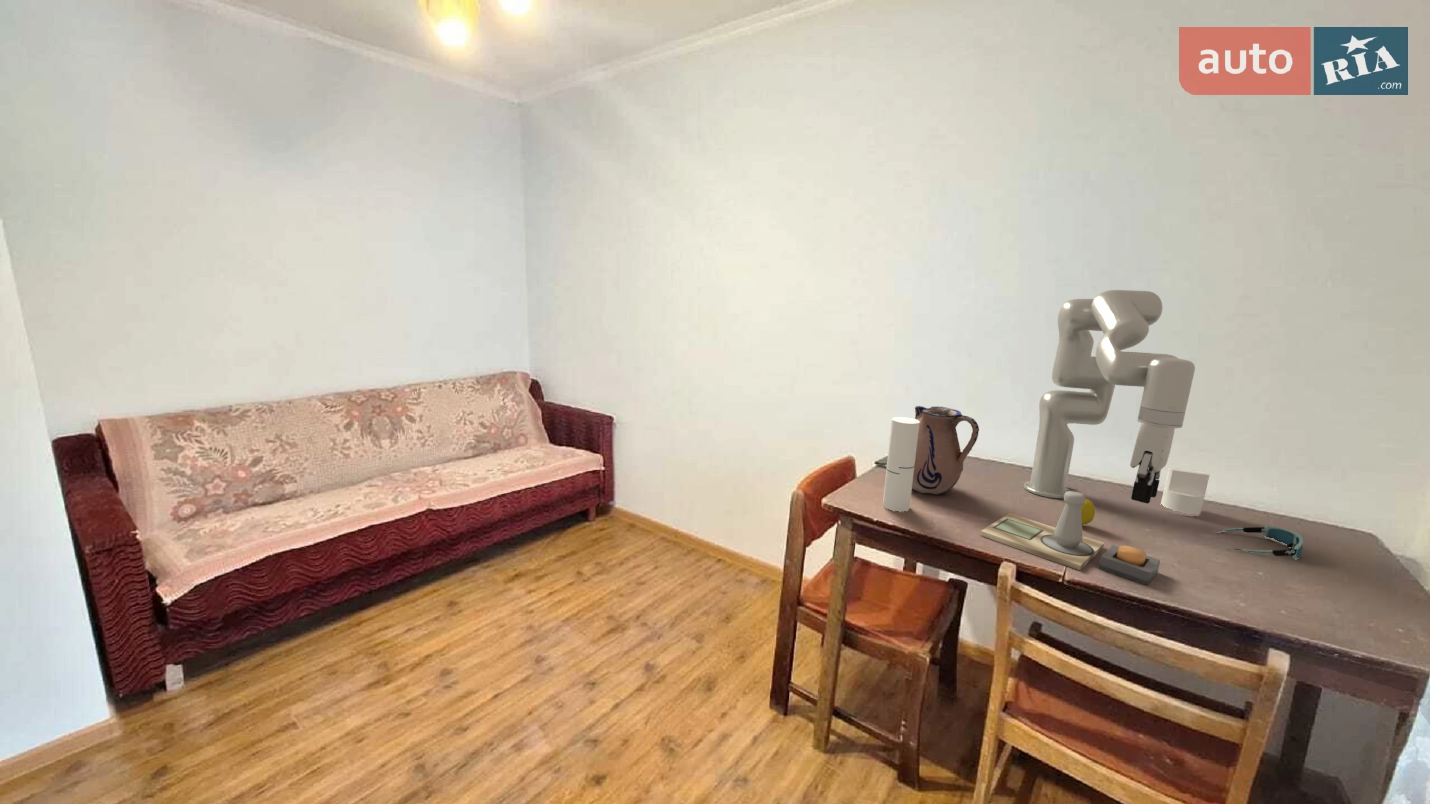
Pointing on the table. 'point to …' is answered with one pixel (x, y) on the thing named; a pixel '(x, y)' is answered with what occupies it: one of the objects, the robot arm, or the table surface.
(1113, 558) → the button housing
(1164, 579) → the table surface
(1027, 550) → the picture board
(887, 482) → the cylindrical container
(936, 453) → the ceramic pitcher
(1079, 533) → the salt shaker
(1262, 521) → the table surface
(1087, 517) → the lemon
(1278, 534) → the sunglasses
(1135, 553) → the button
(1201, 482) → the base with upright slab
